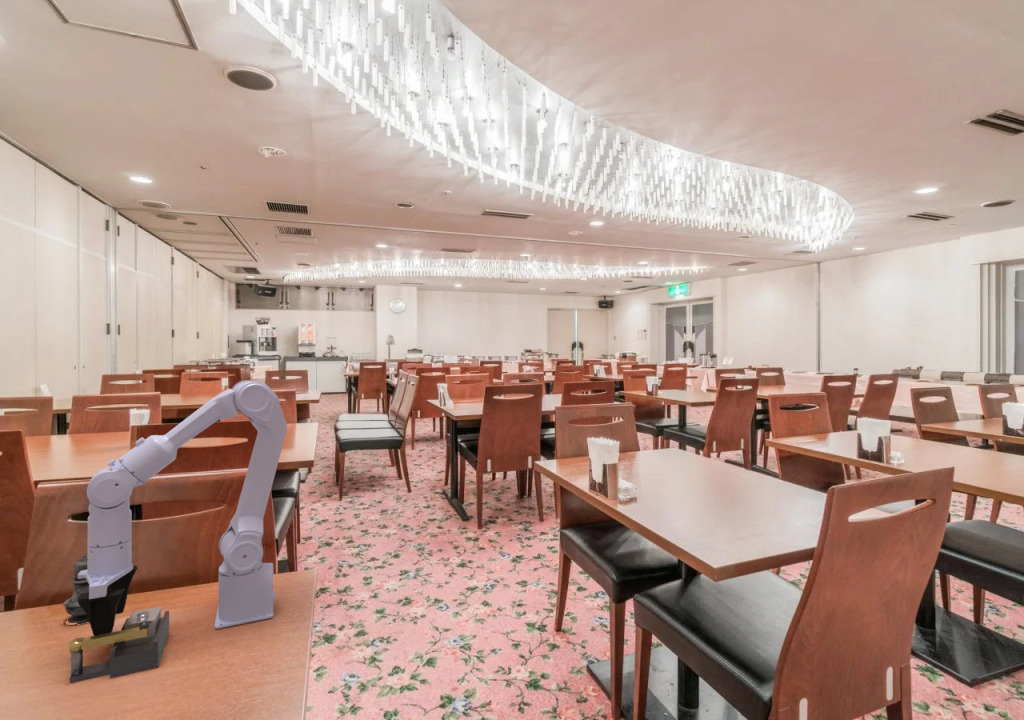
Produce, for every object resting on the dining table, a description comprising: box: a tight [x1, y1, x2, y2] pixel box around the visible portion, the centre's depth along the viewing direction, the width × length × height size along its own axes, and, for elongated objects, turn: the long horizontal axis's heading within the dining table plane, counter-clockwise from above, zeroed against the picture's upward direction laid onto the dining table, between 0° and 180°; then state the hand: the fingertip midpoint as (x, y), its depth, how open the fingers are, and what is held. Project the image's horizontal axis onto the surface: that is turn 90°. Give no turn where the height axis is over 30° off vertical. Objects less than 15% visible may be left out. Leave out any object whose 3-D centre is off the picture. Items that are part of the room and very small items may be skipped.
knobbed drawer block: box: [125, 606, 162, 642], centre depth 83 cm, size 4×5×3 cm
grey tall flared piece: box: [62, 553, 90, 625], centre depth 94 cm, size 6×6×12 cm
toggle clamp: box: [69, 610, 170, 684], centre depth 81 cm, size 11×11×4 cm
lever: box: [68, 621, 149, 653], centre depth 78 cm, size 10×2×2 cm, turn 117°
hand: (109, 623), depth 83 cm, fingers open, 7 cm apart
